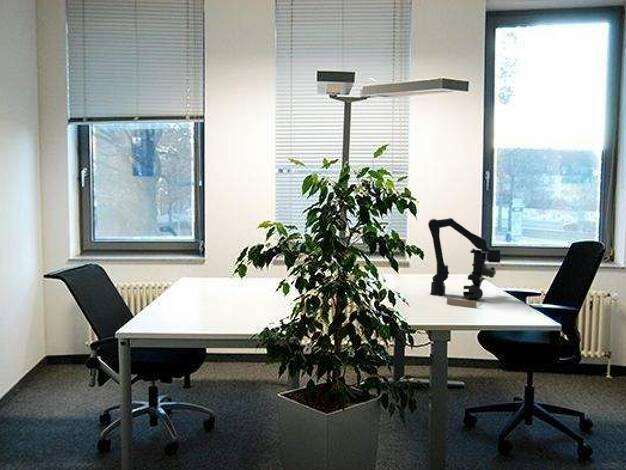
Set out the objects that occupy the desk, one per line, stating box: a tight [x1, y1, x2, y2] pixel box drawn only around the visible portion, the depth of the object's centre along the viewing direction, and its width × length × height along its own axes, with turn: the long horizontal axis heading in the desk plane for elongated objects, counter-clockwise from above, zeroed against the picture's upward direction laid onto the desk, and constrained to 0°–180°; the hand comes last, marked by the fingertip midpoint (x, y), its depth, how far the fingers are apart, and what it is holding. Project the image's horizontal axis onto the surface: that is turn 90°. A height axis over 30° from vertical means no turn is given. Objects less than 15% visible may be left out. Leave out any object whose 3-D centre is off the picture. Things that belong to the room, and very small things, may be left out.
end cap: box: [462, 283, 484, 302], centre depth 326 cm, size 10×7×7 cm
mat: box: [446, 297, 485, 309], centre depth 316 cm, size 14×15×3 cm
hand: (477, 291), depth 334 cm, fingers closed
